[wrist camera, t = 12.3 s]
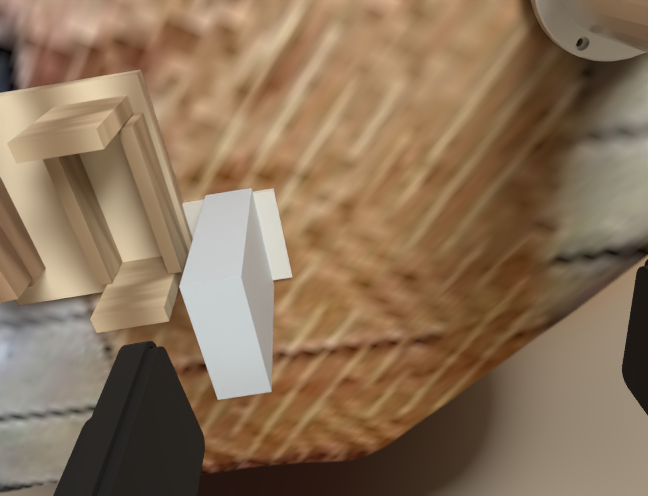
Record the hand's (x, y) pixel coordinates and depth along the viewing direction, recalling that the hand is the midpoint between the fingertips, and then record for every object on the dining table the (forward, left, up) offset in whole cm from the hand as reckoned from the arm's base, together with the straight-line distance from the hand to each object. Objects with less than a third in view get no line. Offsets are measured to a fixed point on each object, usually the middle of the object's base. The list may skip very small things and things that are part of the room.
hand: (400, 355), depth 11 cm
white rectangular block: (+8, +13, -29) cm, 33 cm away
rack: (+19, +7, -29) cm, 36 cm away
